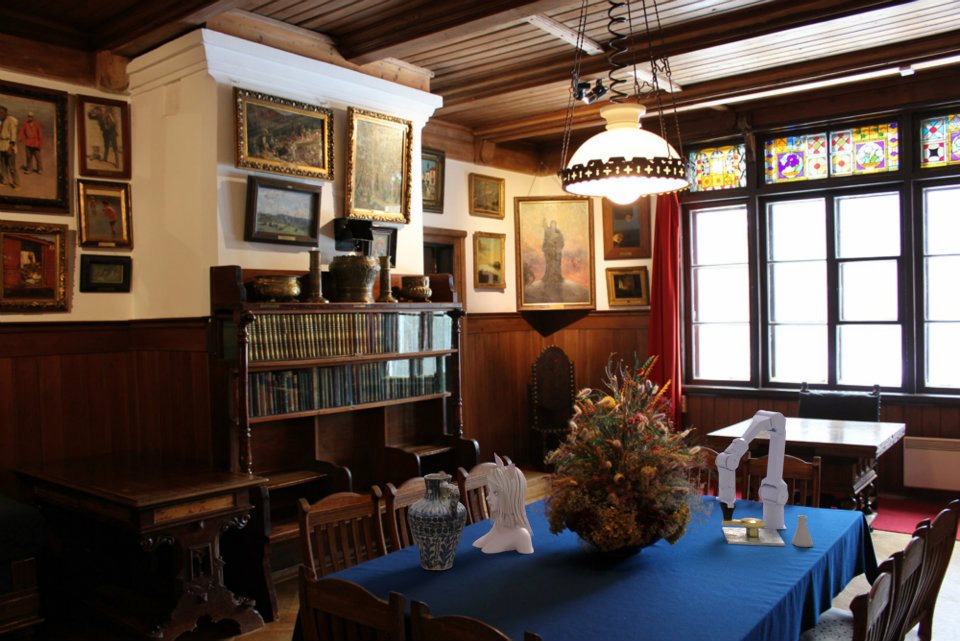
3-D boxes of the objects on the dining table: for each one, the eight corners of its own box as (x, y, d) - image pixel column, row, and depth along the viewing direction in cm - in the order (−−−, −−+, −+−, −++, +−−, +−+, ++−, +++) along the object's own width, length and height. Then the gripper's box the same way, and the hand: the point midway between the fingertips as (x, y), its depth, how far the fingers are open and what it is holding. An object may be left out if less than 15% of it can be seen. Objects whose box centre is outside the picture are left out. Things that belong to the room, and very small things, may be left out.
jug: (396, 567, 258) (394, 476, 257) (438, 553, 272) (437, 467, 272) (440, 581, 244) (438, 485, 243) (482, 565, 258) (480, 474, 257)
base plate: (722, 529, 295) (722, 518, 295) (775, 531, 291) (775, 520, 291) (728, 543, 277) (727, 532, 277) (784, 546, 274) (784, 534, 274)
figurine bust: (463, 539, 289) (461, 452, 288) (512, 531, 297) (511, 447, 297) (494, 559, 265) (492, 464, 264) (546, 550, 273) (545, 459, 273)
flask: (817, 547, 272) (816, 518, 272) (796, 547, 272) (795, 519, 272) (808, 541, 279) (808, 513, 279) (788, 541, 279) (788, 513, 279)
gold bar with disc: (762, 530, 288) (762, 518, 288) (766, 537, 279) (766, 524, 279) (721, 529, 291) (720, 516, 290) (723, 535, 282) (723, 523, 282)
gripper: (712, 481, 296) (713, 517, 296) (719, 490, 282) (719, 527, 282) (732, 481, 295) (732, 517, 296) (739, 490, 281) (739, 528, 281)
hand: (727, 522), depth 289 cm, fingers closed
